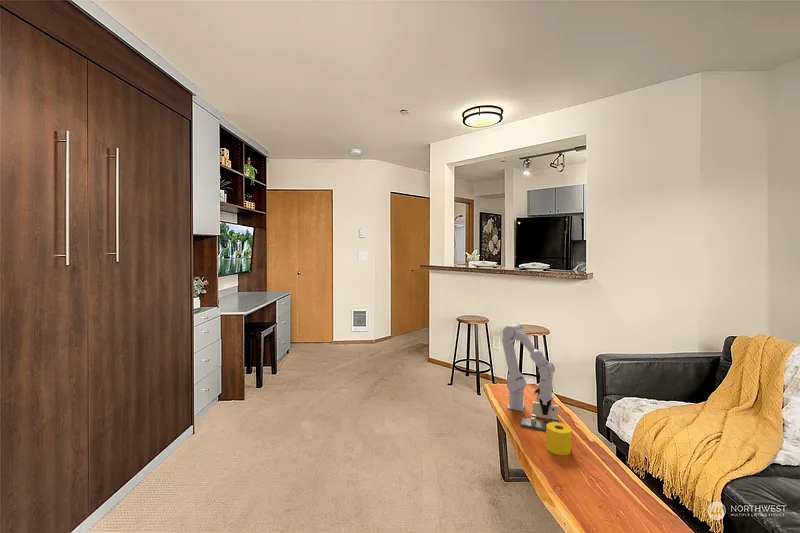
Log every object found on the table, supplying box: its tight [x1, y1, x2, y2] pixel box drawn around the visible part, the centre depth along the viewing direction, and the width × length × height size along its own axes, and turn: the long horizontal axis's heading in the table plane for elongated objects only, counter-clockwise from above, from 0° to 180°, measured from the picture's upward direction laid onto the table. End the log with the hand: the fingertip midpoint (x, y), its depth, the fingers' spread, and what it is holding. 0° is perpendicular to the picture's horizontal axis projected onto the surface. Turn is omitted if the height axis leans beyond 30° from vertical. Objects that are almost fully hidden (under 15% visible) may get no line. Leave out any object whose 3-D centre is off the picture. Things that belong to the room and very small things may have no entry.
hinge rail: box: [520, 413, 558, 432], centre depth 191 cm, size 8×20×4 cm, turn 67°
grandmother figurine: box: [533, 382, 540, 402], centre depth 216 cm, size 8×4×13 cm, turn 68°
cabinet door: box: [531, 400, 559, 421], centre depth 201 cm, size 2×12×7 cm, turn 67°
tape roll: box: [545, 421, 573, 456], centre depth 171 cm, size 10×10×9 cm
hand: (545, 413), depth 201 cm, fingers closed on cabinet door, 1 cm apart
